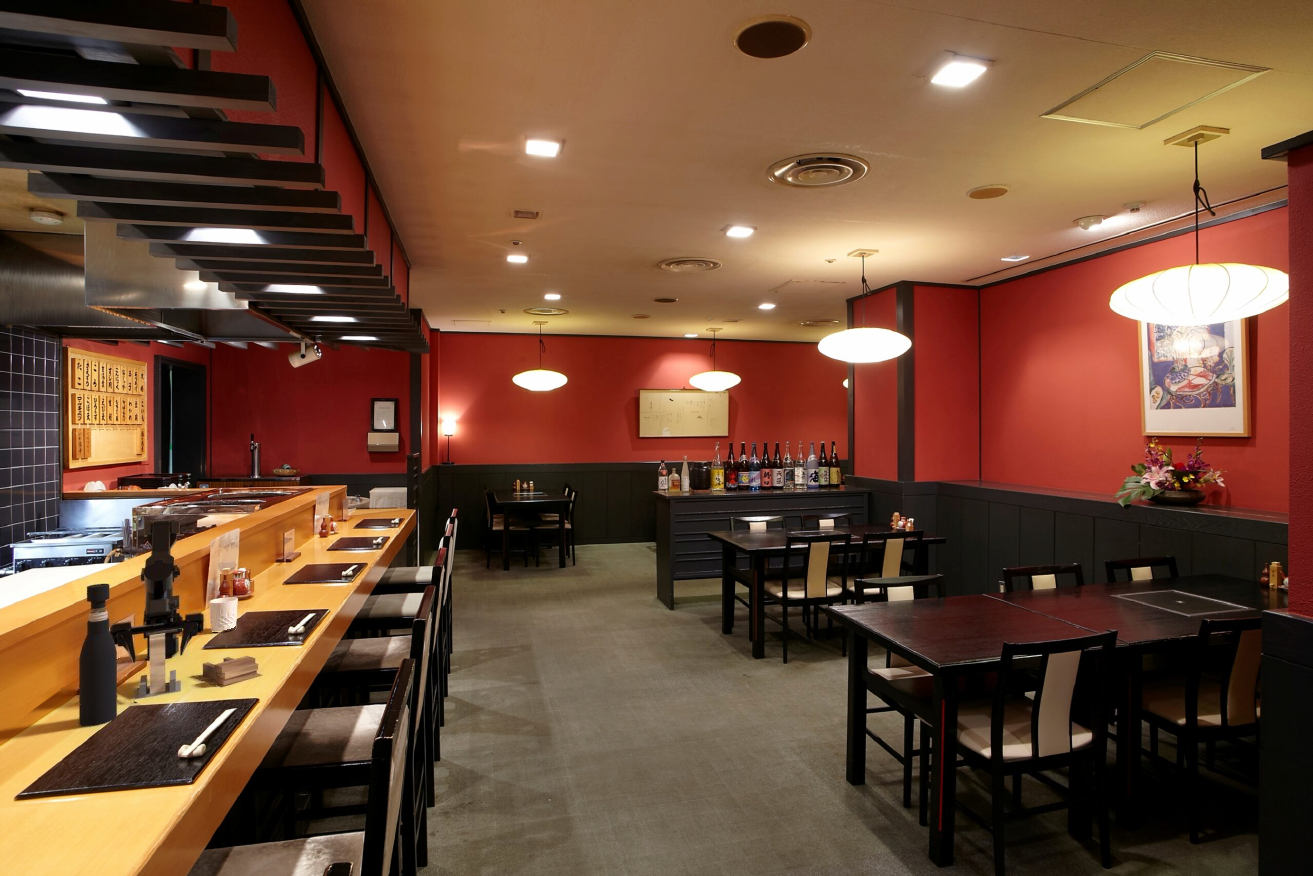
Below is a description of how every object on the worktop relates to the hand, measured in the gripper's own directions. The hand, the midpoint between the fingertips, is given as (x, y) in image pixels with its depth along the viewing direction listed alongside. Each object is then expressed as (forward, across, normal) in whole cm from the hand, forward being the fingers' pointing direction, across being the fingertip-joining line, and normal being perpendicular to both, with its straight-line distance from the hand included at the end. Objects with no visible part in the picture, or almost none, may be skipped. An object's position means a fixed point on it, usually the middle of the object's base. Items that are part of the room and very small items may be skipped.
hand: (157, 658), depth 163 cm
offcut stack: (+7, +16, +5) cm, 18 cm away
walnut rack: (+5, +15, +8) cm, 17 cm away
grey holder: (+5, 0, +7) cm, 9 cm away
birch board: (+5, 0, +7) cm, 8 cm away
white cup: (-34, +16, +47) cm, 60 cm away
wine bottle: (+14, -10, -1) cm, 17 cm away
